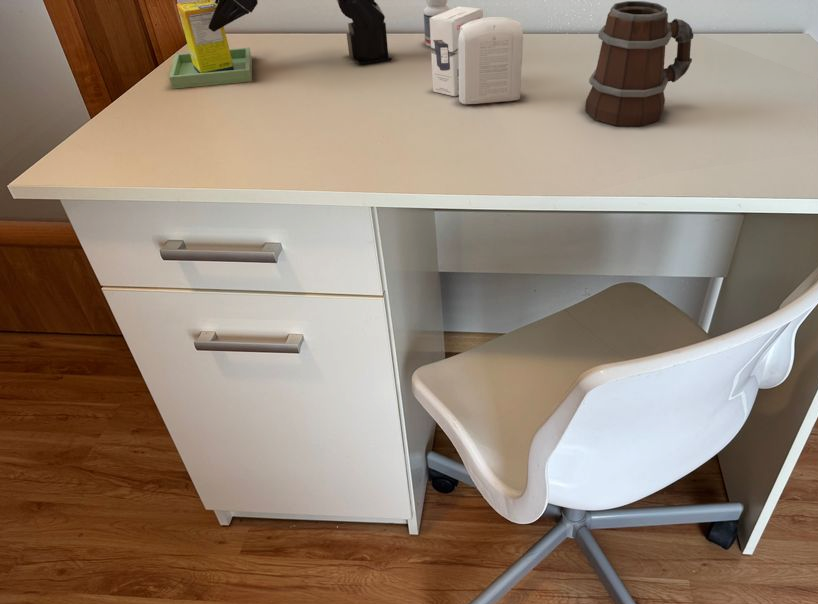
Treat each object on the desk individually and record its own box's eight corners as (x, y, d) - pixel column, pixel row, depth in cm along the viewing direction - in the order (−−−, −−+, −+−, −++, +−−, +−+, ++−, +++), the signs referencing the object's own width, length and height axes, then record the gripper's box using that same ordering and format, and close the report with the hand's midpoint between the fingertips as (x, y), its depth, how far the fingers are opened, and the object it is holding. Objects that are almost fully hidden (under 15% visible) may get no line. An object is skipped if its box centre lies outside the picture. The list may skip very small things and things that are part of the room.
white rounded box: (516, 92, 112) (519, 11, 104) (524, 101, 109) (527, 19, 101) (456, 98, 110) (454, 17, 102) (462, 107, 107) (460, 24, 99)
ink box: (460, 77, 118) (458, 4, 110) (483, 82, 116) (484, 8, 108) (431, 92, 113) (428, 16, 105) (455, 97, 111) (454, 20, 103)
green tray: (251, 58, 128) (249, 47, 127) (251, 81, 118) (249, 69, 117) (178, 65, 126) (175, 53, 125) (172, 89, 116) (169, 77, 115)
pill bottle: (448, 48, 131) (446, -2, 125) (422, 47, 132) (419, -3, 126) (454, 40, 135) (452, -9, 129) (428, 39, 136) (426, -9, 130)
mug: (605, 131, 99) (618, 21, 89) (574, 102, 108) (584, 0, 98) (701, 119, 102) (724, 12, 92) (663, 92, 111) (681, -8, 101)
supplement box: (225, 62, 125) (209, -2, 118) (235, 71, 121) (219, 5, 114) (193, 68, 122) (175, 3, 115) (201, 77, 119) (184, 10, 111)
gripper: (220, -101, 114) (172, -23, 119) (216, -85, 100) (162, 2, 105) (277, -51, 120) (229, 21, 126) (280, -30, 106) (226, 50, 112)
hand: (212, 22), depth 117 cm, fingers open, 9 cm apart
